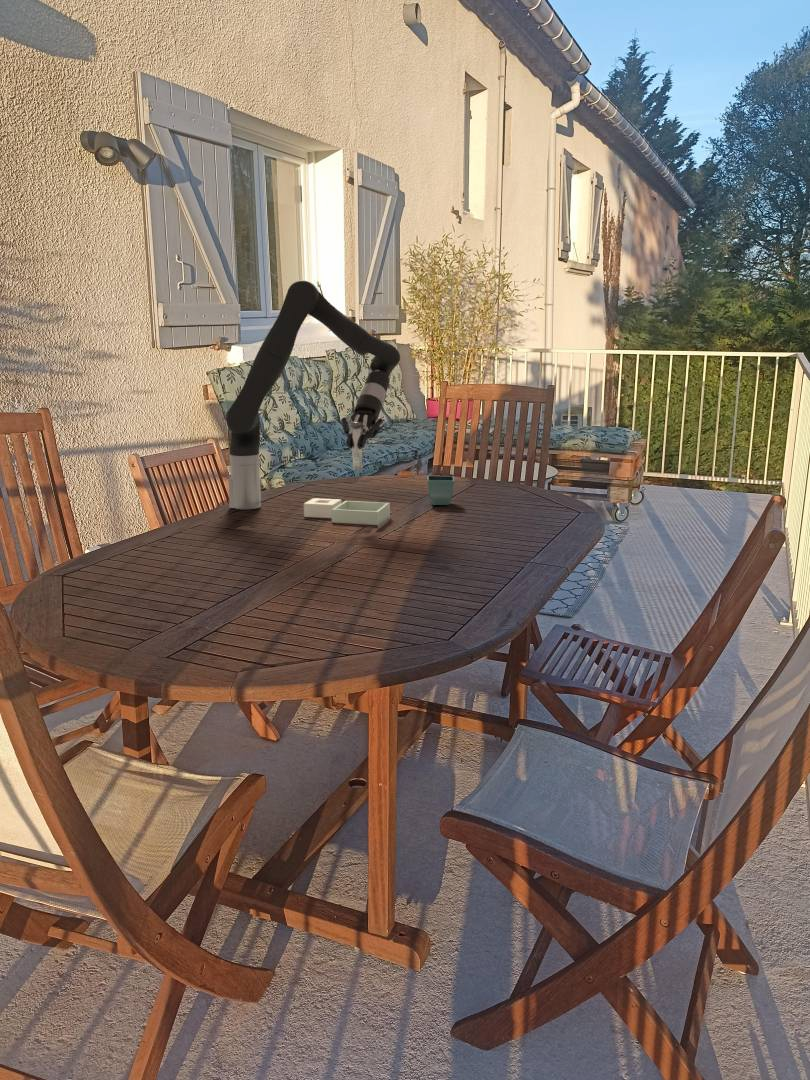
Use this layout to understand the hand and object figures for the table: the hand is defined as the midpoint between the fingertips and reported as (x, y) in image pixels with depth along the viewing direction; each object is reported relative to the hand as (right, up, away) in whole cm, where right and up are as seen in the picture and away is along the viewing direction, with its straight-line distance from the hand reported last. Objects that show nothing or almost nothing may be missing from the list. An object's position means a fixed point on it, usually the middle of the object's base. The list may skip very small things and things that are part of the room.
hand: (354, 446), depth 245 cm
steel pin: (+1, -6, +4) cm, 7 cm away
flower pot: (+27, -16, +33) cm, 45 cm away
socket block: (-10, -20, +12) cm, 26 cm away
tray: (+2, -22, +6) cm, 23 cm away
